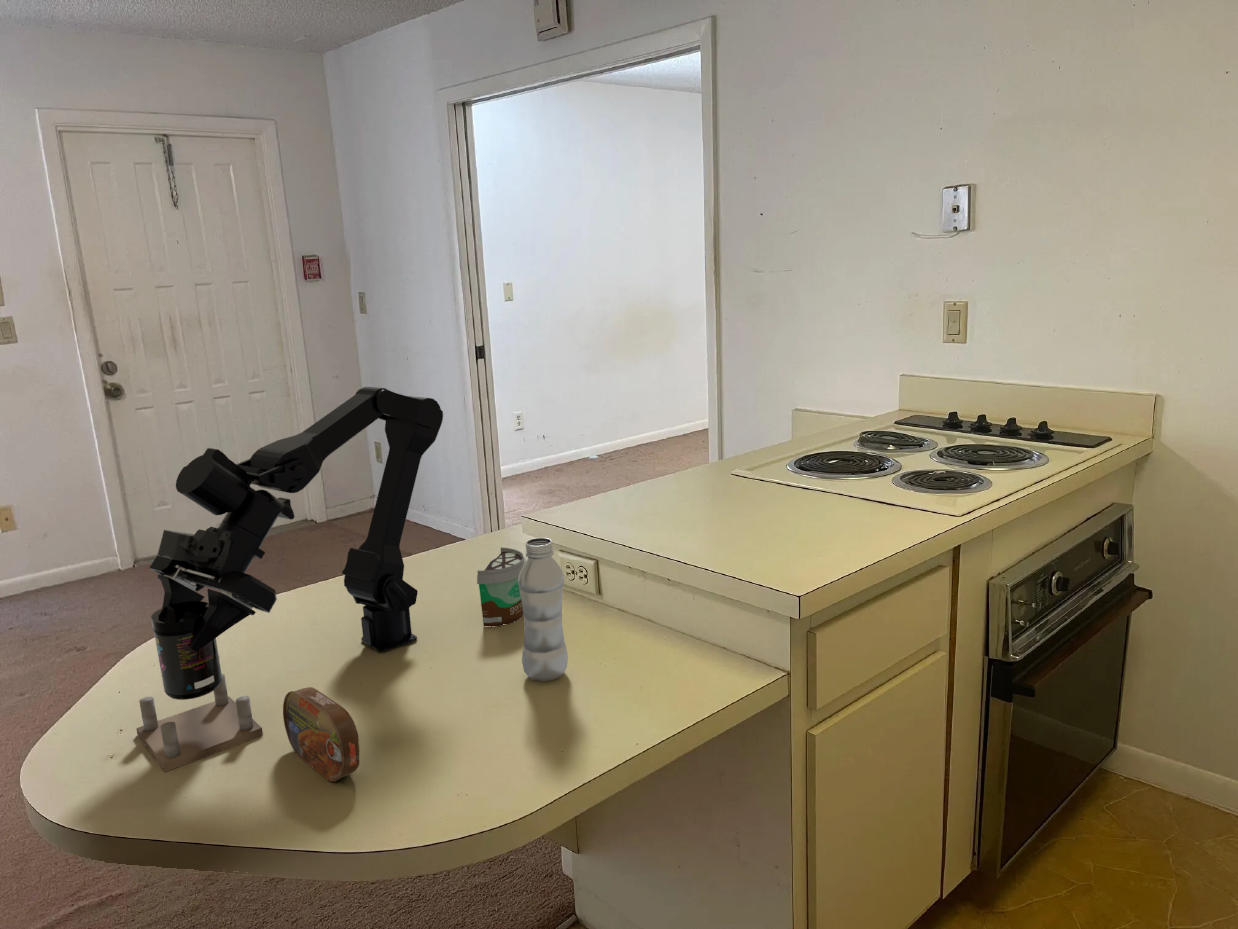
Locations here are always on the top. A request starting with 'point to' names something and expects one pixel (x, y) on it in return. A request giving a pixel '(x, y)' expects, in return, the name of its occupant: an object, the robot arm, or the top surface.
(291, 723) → the tin
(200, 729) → the cradle
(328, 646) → the top surface
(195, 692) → the supplement container
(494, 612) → the food container
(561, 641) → the plastic bottle
